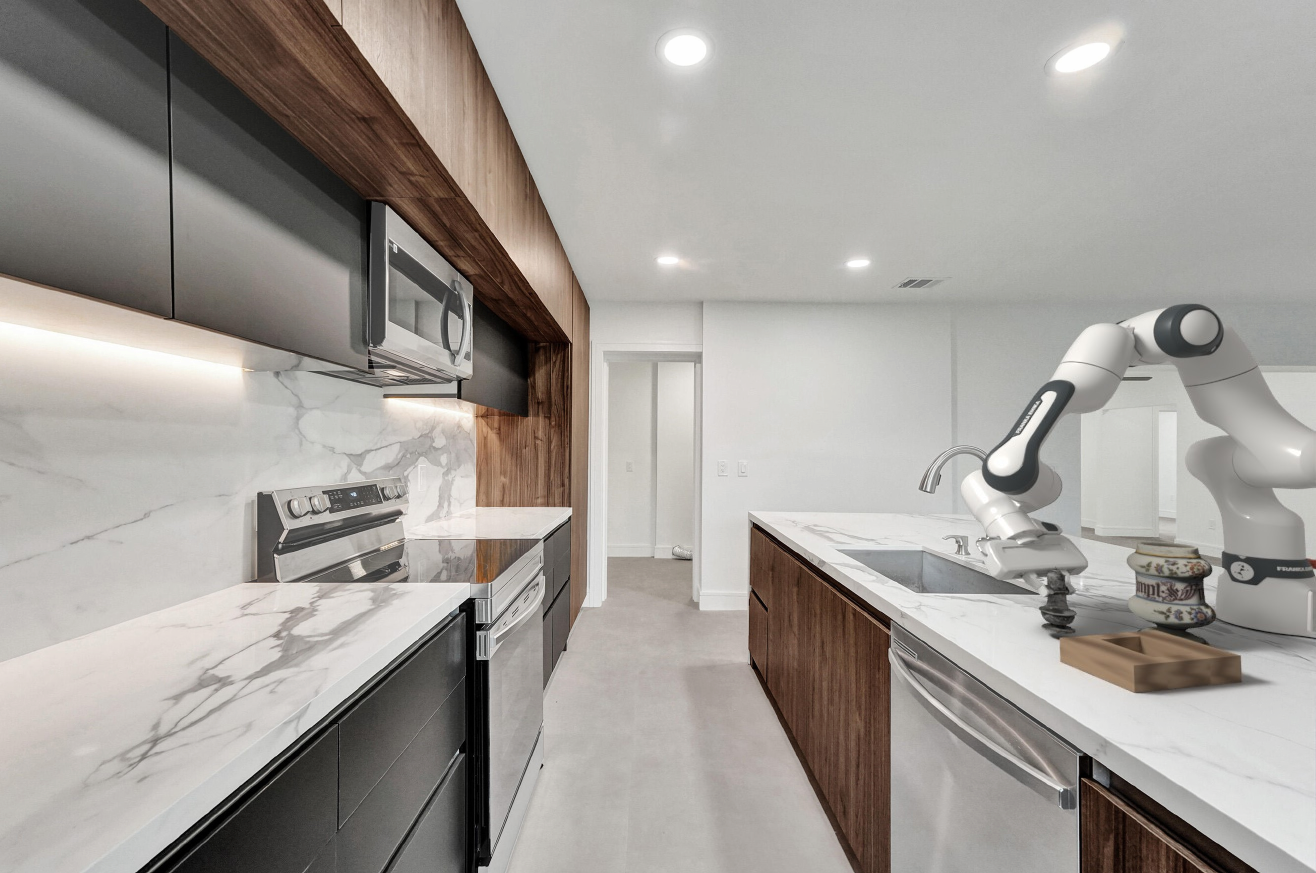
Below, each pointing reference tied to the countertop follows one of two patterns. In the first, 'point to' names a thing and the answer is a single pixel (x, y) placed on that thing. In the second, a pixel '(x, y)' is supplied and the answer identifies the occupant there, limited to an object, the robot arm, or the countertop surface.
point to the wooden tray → (1150, 660)
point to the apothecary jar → (1171, 588)
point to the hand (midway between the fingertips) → (1059, 594)
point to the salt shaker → (1057, 606)
